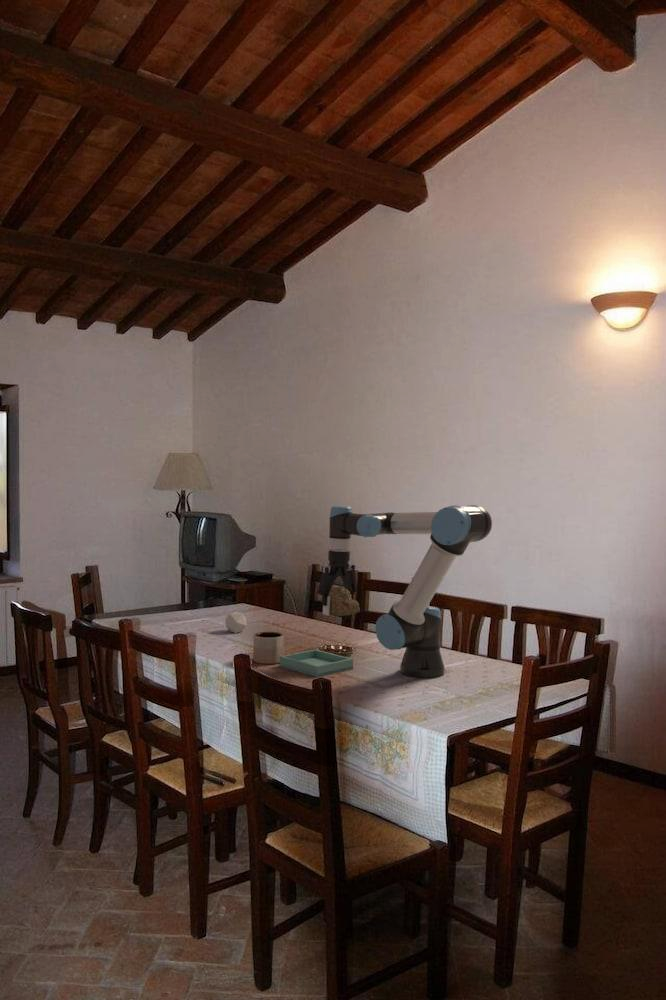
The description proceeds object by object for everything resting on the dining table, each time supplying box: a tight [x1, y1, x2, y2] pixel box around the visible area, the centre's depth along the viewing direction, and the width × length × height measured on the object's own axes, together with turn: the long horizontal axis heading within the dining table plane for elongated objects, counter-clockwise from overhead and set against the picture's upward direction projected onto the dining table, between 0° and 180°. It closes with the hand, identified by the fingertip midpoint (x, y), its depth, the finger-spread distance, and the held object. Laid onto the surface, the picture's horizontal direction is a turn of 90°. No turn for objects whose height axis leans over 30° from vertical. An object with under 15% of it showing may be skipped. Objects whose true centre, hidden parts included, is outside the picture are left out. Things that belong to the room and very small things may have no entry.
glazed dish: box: [279, 649, 354, 678], centre depth 290 cm, size 19×17×4 cm
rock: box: [328, 586, 361, 617], centre depth 295 cm, size 11×12×10 cm
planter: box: [252, 631, 285, 665], centre depth 298 cm, size 11×11×10 cm
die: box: [225, 611, 247, 634], centre depth 347 cm, size 8×9×10 cm
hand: (336, 613), depth 294 cm, fingers closed on rock, 9 cm apart
